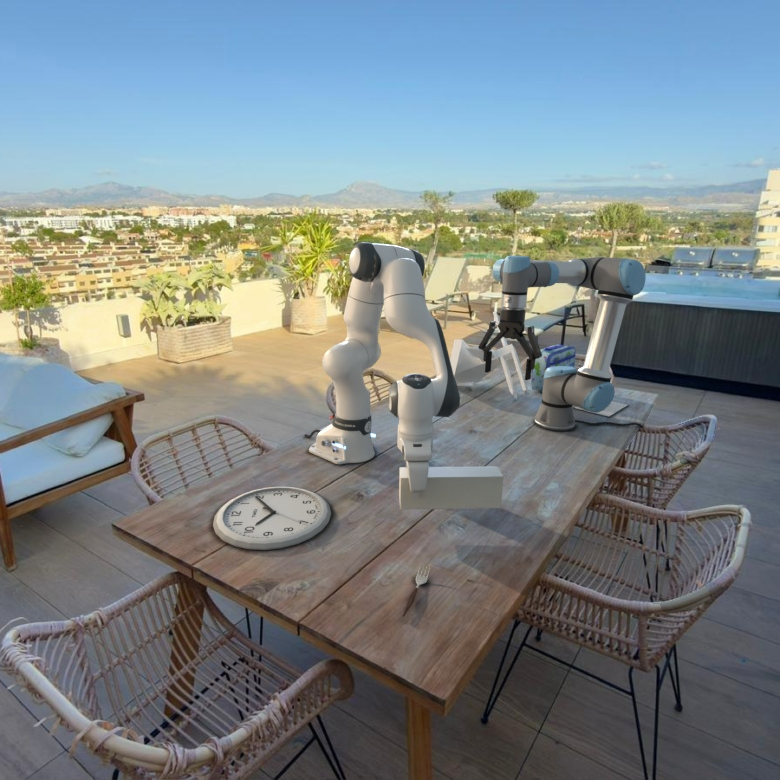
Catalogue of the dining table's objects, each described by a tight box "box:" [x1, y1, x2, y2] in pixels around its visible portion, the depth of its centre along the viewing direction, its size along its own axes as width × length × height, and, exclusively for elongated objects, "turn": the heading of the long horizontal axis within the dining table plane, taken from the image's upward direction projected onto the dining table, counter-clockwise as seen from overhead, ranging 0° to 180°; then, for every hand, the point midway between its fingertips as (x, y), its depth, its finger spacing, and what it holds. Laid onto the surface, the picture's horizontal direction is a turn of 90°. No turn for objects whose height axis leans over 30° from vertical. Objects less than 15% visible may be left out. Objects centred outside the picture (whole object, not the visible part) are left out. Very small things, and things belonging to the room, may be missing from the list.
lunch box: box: [530, 344, 577, 392], centre depth 247 cm, size 26×11×21 cm, turn 134°
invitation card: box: [573, 400, 629, 418], centre depth 226 cm, size 21×1×15 cm
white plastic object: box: [449, 310, 531, 400], centre depth 245 cm, size 37×45×31 cm
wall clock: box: [212, 486, 332, 551], centre depth 136 cm, size 30×2×30 cm
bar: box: [398, 465, 504, 510], centre depth 133 cm, size 26×6×9 cm, turn 92°
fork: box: [402, 562, 432, 618], centre depth 108 cm, size 3×16×2 cm, turn 160°
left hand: (414, 490), depth 133 cm, fingers closed on bar, 6 cm apart
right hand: (507, 375), depth 165 cm, fingers open, 13 cm apart
